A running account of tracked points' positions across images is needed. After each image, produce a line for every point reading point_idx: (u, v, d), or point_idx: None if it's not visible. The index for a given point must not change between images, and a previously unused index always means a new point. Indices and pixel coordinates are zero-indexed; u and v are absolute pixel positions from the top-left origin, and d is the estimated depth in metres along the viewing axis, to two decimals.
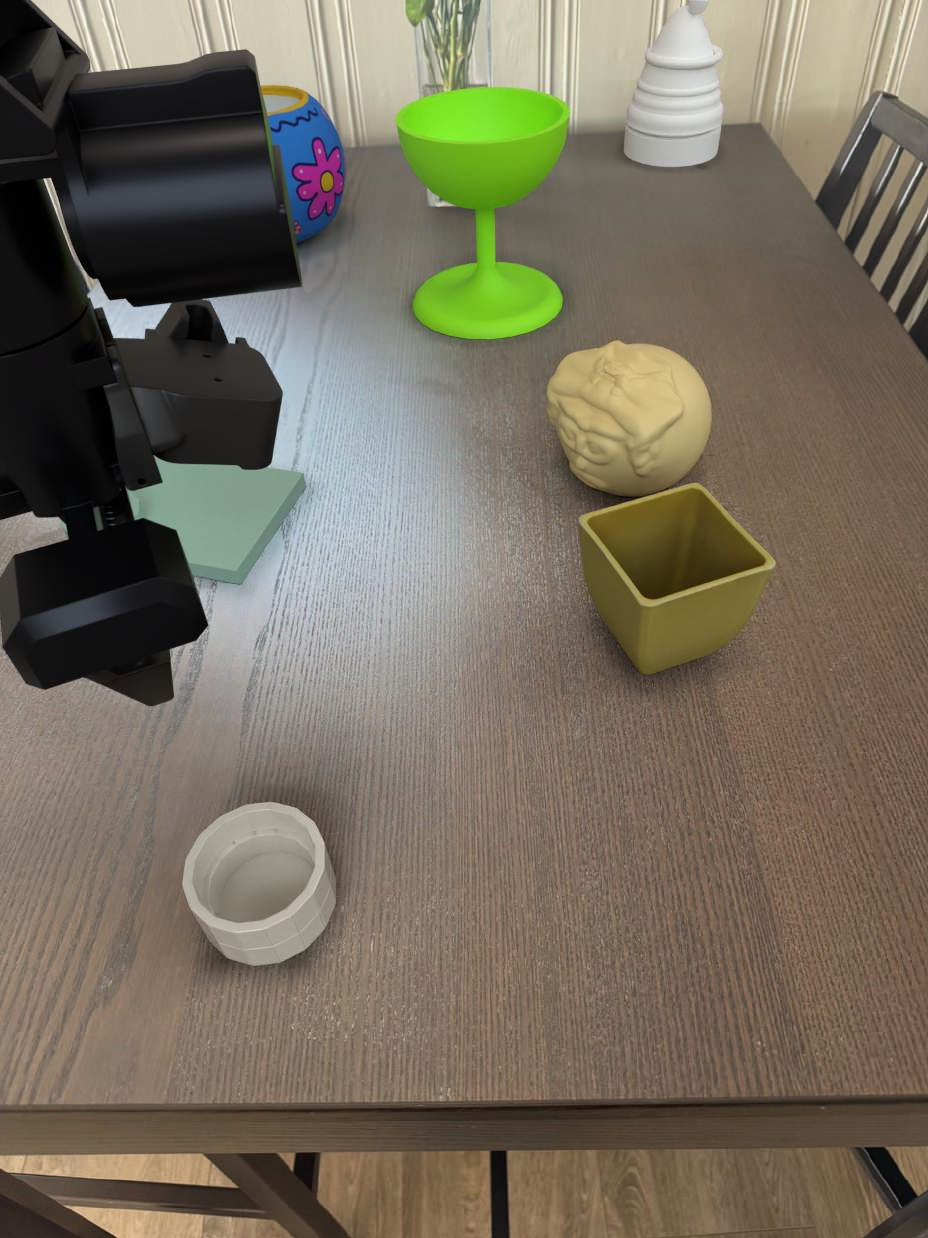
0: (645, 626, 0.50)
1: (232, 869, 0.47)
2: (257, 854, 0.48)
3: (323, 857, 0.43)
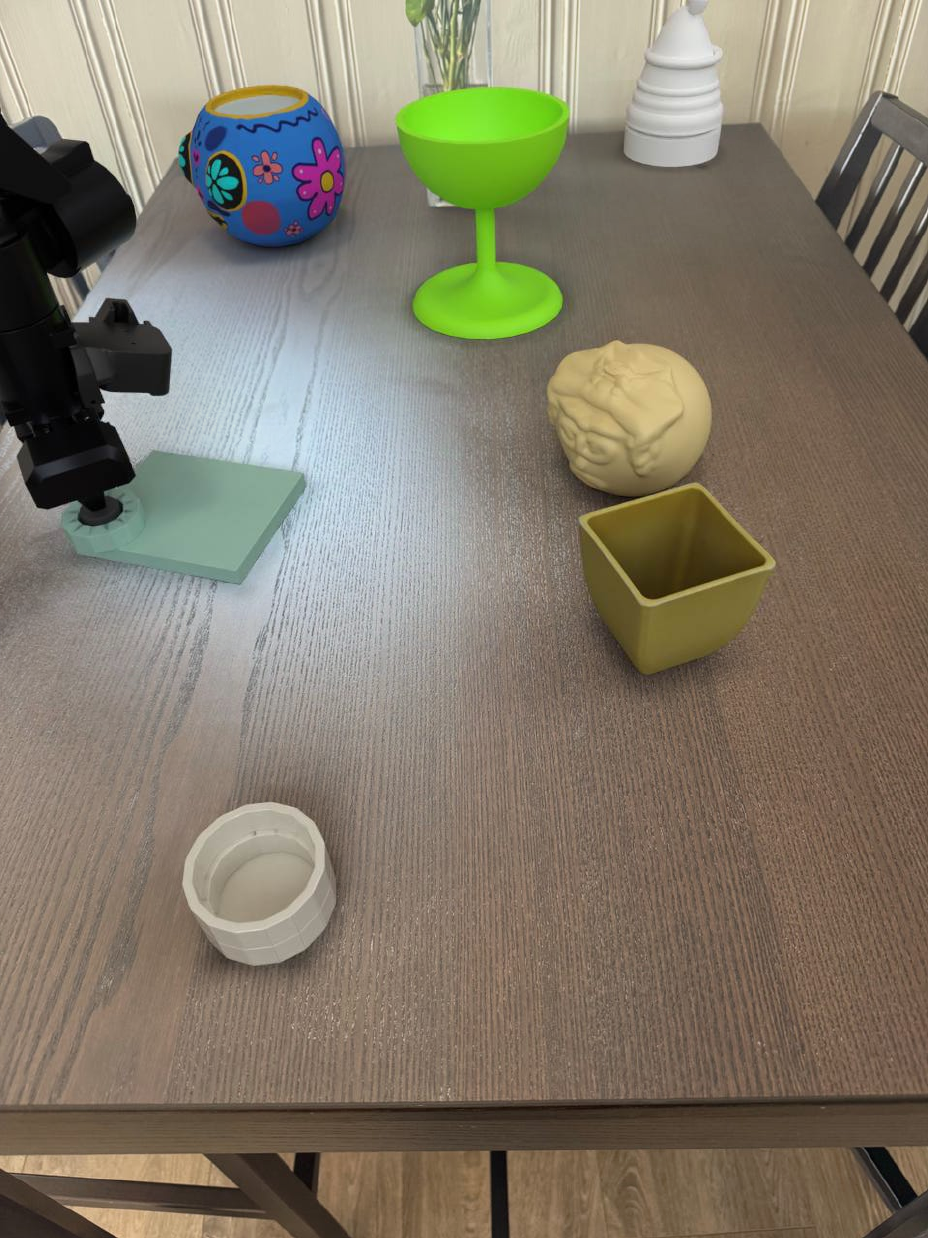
0: (645, 626, 0.50)
1: (232, 869, 0.47)
2: (257, 854, 0.48)
3: (323, 857, 0.43)
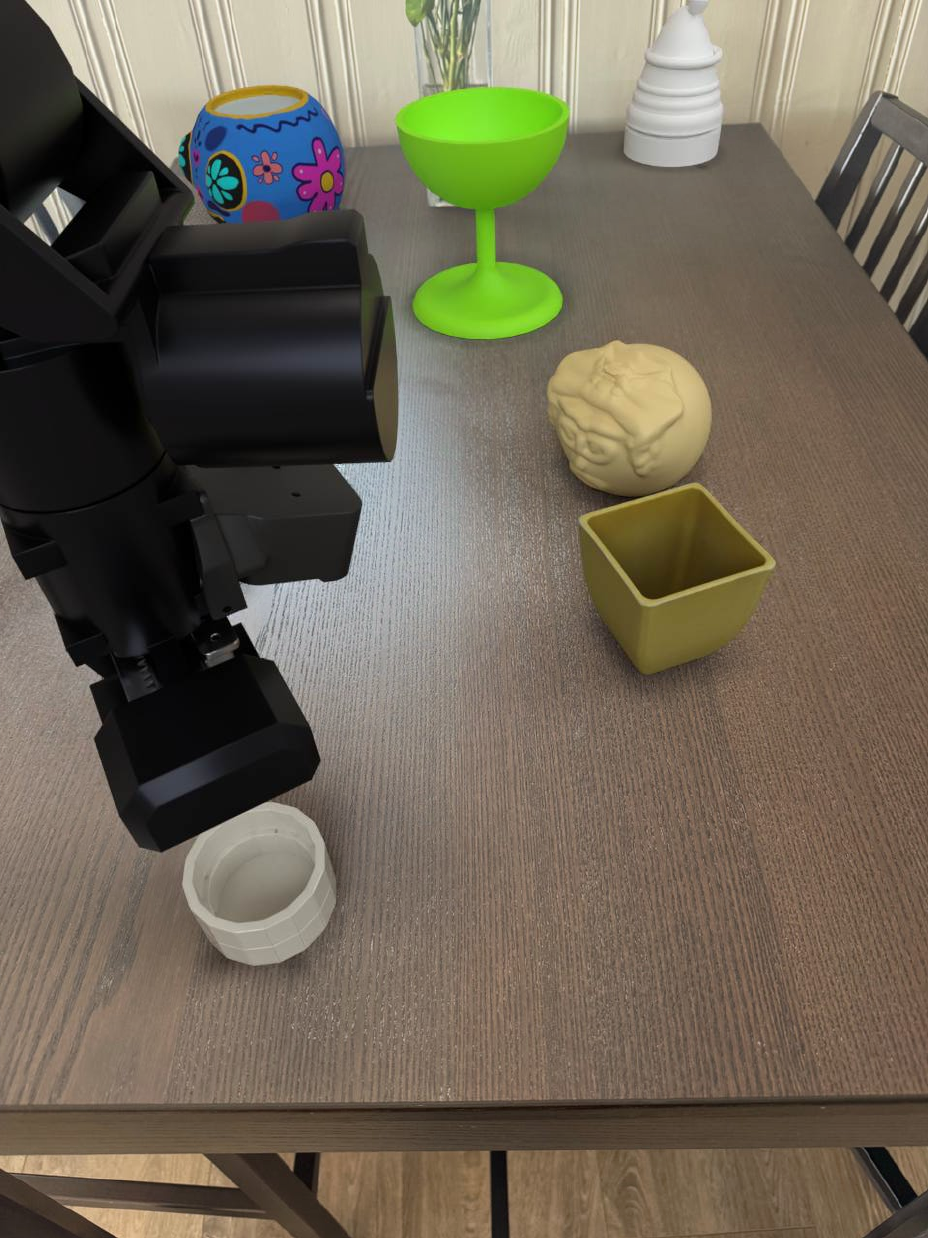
0: (645, 626, 0.50)
1: (232, 869, 0.47)
2: (257, 854, 0.48)
3: (323, 857, 0.43)
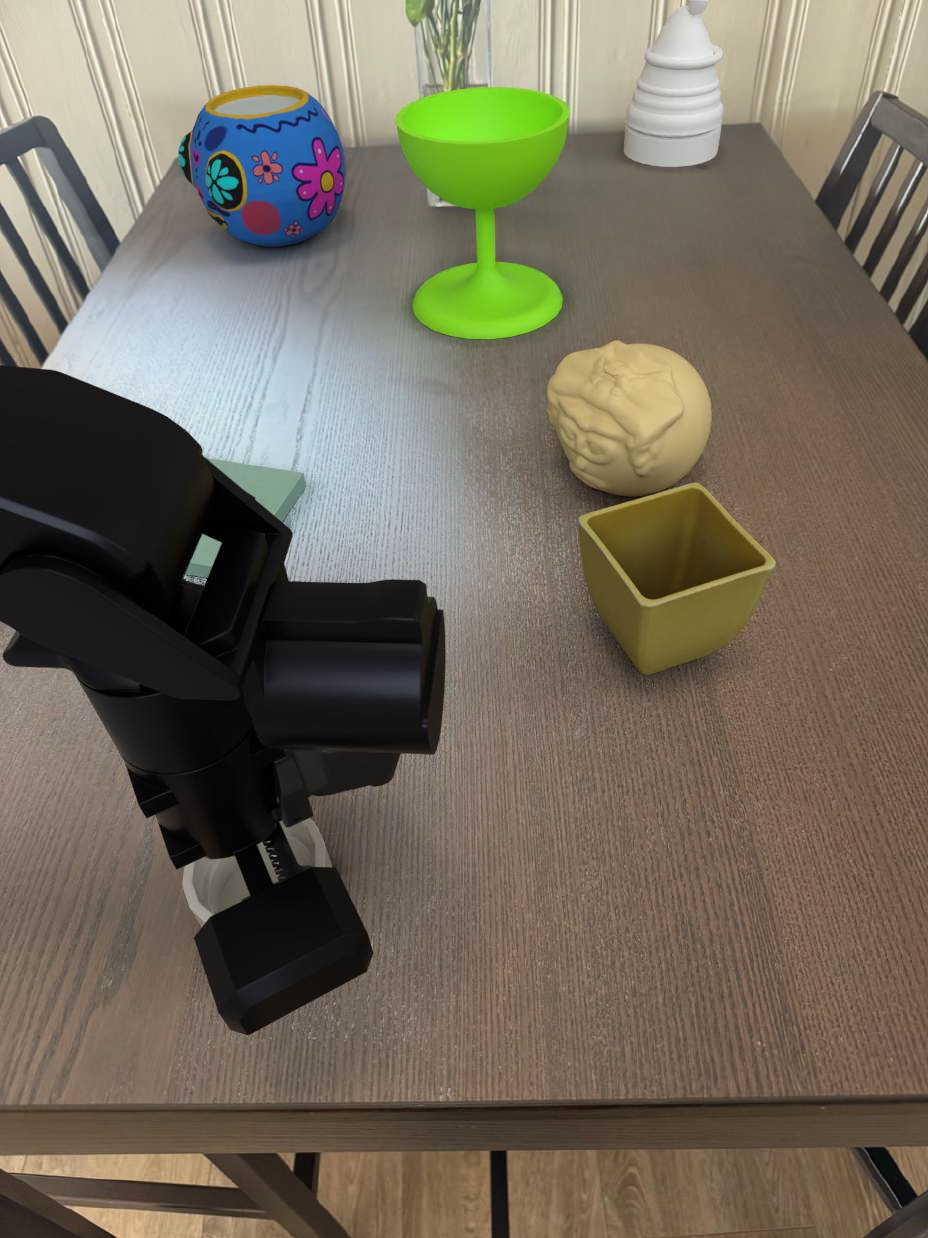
0: (645, 626, 0.50)
1: (232, 869, 0.47)
2: None
3: (323, 857, 0.43)
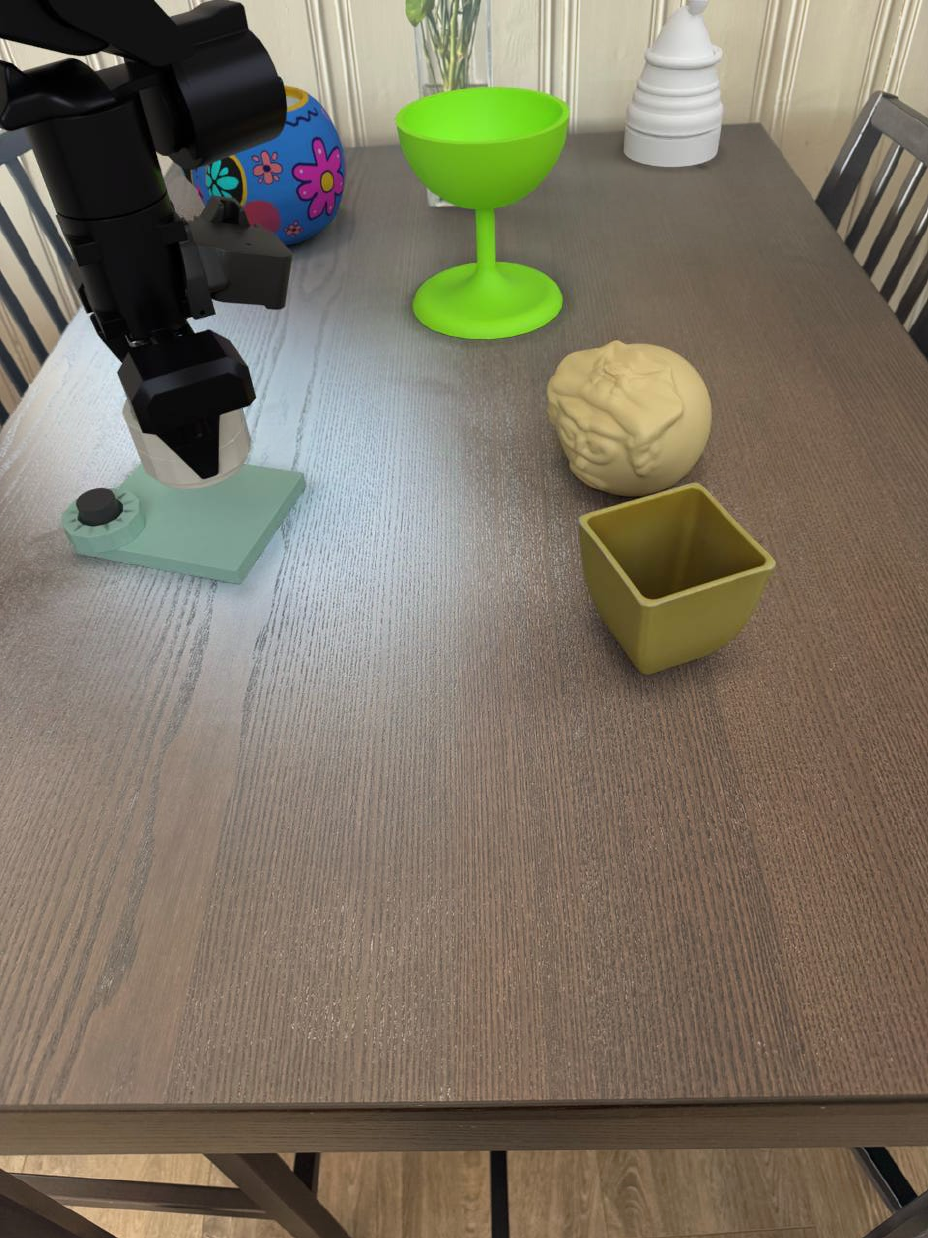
0: (645, 626, 0.50)
1: None
2: None
3: None
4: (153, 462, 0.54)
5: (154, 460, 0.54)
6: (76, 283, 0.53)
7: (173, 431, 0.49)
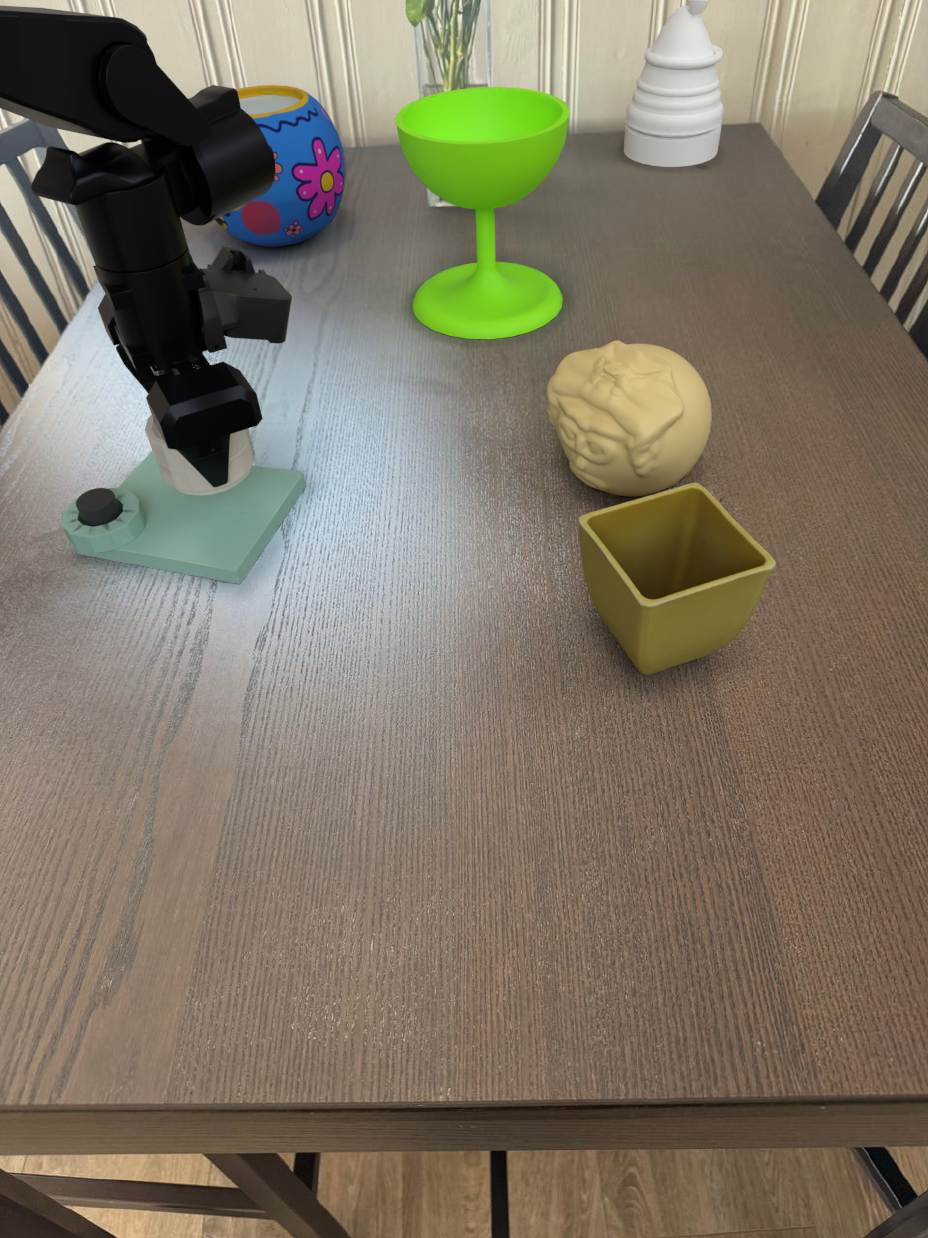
0: (645, 626, 0.50)
1: None
2: None
3: None
4: (171, 472, 0.63)
5: (172, 470, 0.62)
6: (105, 320, 0.62)
7: (191, 446, 0.58)
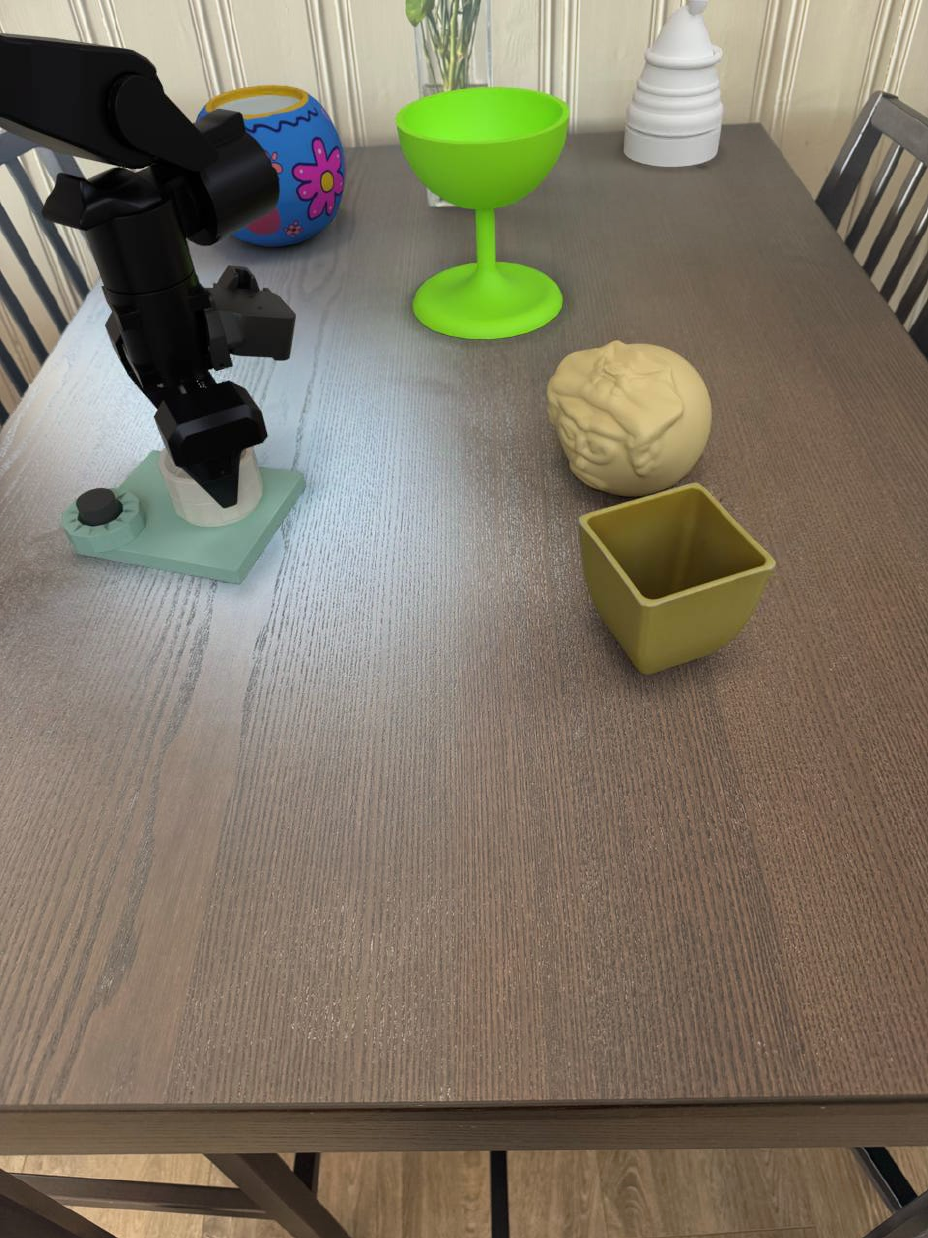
0: (645, 626, 0.50)
1: None
2: None
3: (251, 450, 0.65)
4: (183, 505, 0.65)
5: (184, 504, 0.65)
6: (112, 337, 0.63)
7: (201, 470, 0.59)
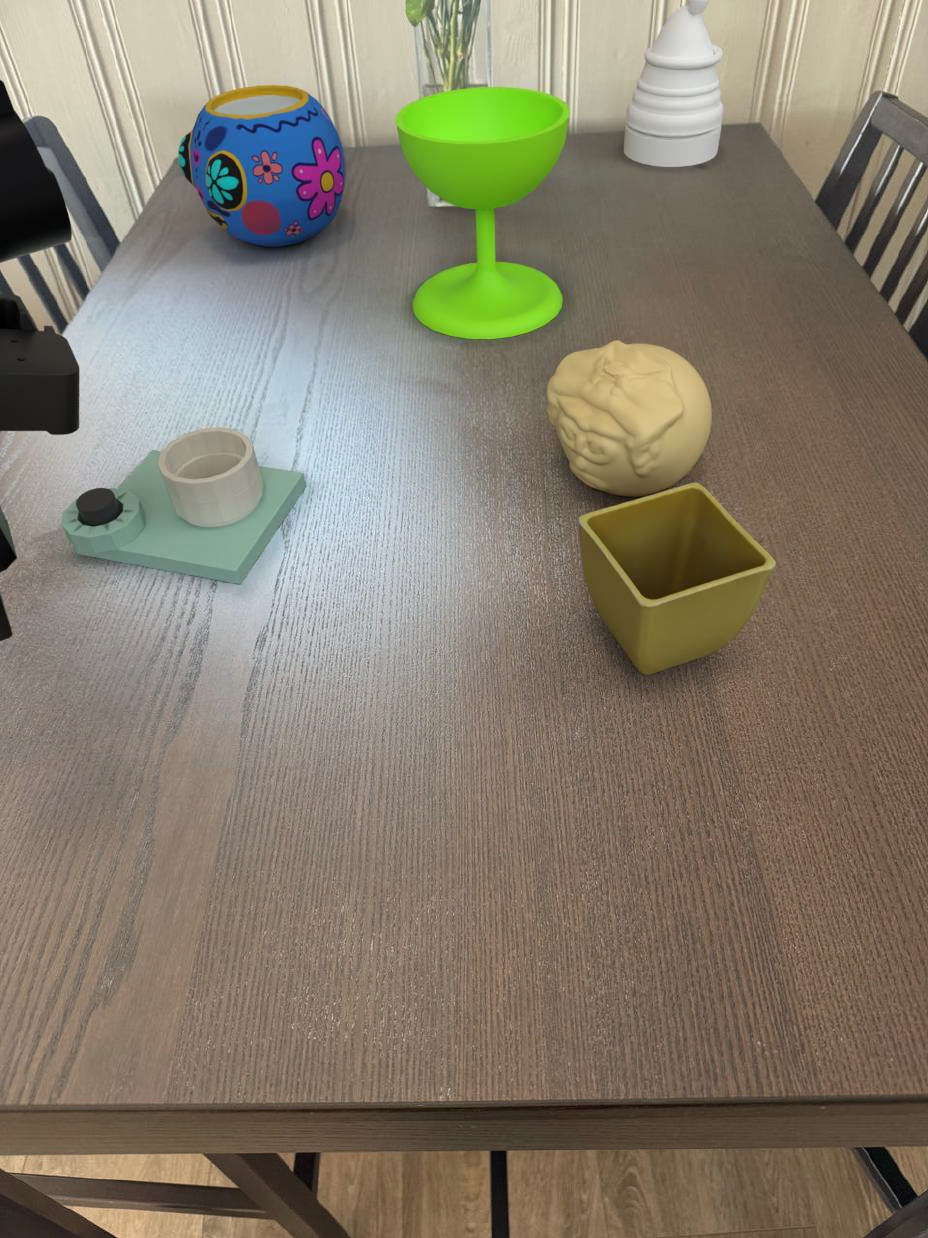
0: (645, 626, 0.50)
1: None
2: (210, 473, 0.70)
3: (251, 450, 0.65)
4: (183, 505, 0.65)
5: (184, 504, 0.65)
6: None
7: None
